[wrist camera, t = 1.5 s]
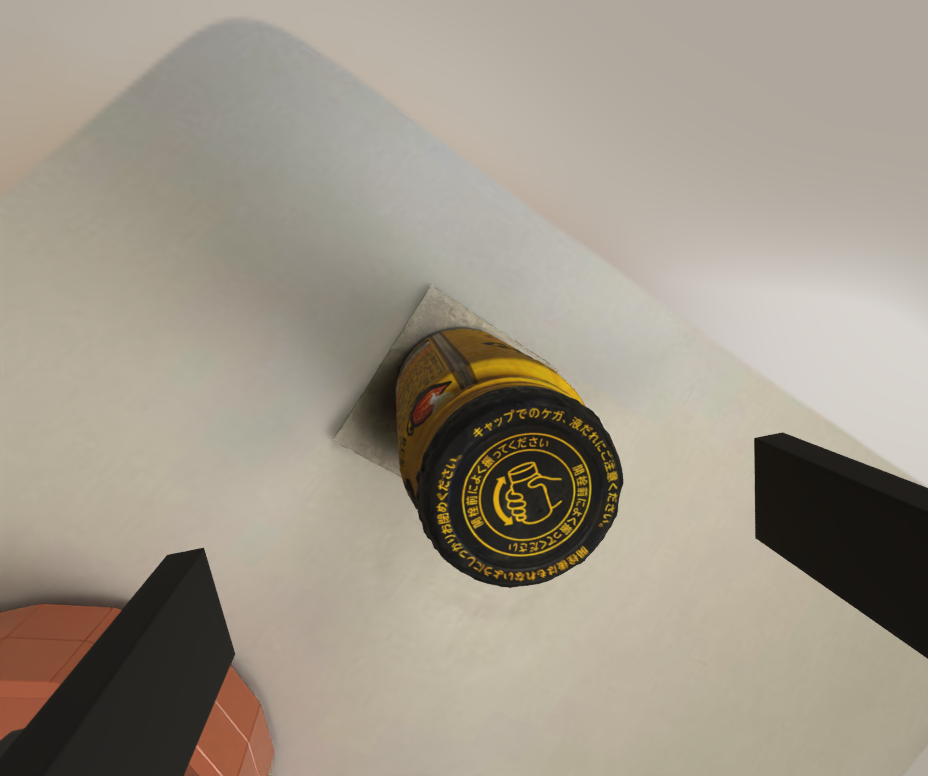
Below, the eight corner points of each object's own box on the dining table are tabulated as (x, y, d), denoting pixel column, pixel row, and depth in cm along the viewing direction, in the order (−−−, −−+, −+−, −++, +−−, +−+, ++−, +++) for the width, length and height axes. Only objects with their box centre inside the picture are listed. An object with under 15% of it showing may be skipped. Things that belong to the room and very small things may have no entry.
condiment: (557, 369, 24) (711, 454, 12) (461, 509, 25) (522, 712, 13) (430, 284, 22) (472, 291, 11) (333, 438, 23) (273, 599, 12)
